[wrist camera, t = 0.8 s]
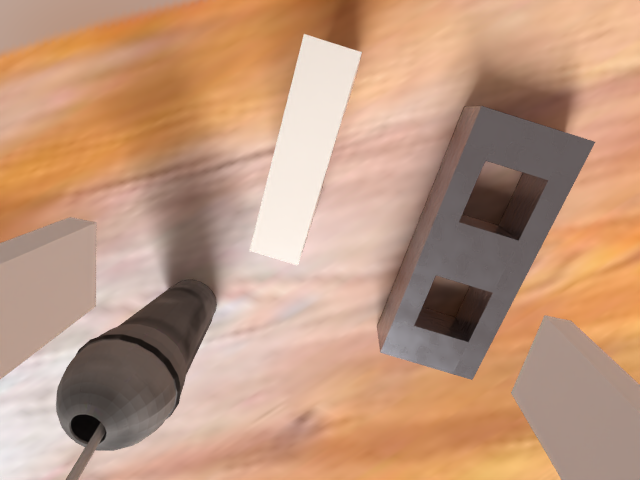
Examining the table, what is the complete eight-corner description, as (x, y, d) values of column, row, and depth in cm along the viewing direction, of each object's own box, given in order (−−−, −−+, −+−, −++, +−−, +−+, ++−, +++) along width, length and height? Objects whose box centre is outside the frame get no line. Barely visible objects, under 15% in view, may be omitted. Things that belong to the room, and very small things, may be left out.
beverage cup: (183, 249, 35) (-16, 415, 16) (246, 300, 36) (133, 511, 17) (140, 303, 37) (-83, 507, 18) (201, 349, 38) (53, 587, 19)
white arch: (312, 219, 33) (297, 265, 23) (278, 209, 33) (249, 250, 23) (357, 72, 29) (361, 52, 19) (318, 60, 29) (304, 33, 19)
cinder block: (376, 326, 36) (380, 352, 32) (464, 106, 29) (481, 105, 26) (459, 351, 36) (472, 379, 32) (563, 138, 30) (595, 141, 26)
